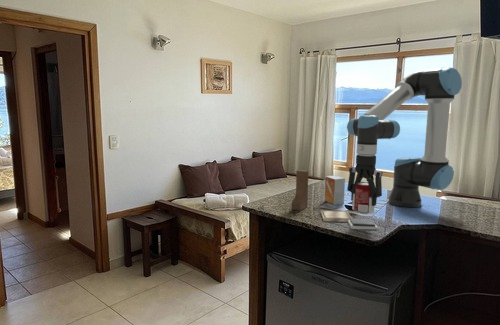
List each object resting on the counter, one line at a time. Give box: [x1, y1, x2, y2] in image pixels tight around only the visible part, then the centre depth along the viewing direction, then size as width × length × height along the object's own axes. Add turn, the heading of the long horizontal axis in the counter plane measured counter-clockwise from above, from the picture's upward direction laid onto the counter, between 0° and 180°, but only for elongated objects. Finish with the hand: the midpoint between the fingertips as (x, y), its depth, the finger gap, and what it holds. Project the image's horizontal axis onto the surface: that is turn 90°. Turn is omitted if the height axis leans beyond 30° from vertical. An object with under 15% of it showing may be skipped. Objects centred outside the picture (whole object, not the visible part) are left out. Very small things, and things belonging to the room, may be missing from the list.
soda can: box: [354, 181, 371, 215], centre depth 143 cm, size 7×7×12 cm
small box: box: [324, 175, 346, 206], centre depth 179 cm, size 8×6×13 cm
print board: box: [320, 209, 353, 223], centre depth 156 cm, size 12×12×1 cm
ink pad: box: [347, 218, 379, 231], centre depth 145 cm, size 10×8×2 cm
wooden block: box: [291, 169, 309, 212], centre depth 168 cm, size 9×4×18 cm, turn 149°
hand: (362, 210), depth 144 cm, fingers closed on soda can, 7 cm apart
